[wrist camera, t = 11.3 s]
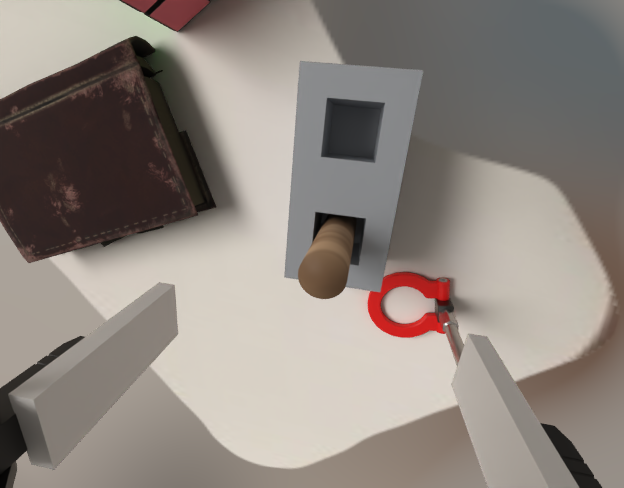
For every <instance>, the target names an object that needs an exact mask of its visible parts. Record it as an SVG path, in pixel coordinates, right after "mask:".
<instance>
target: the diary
mask: <svg viewBox="0 0 624 488" xmlns="http://www.w3.org/2000/svg"><path fill="white" fill-rule="evenodd" d="M154 52H155V49H154V48H153V47H152V46H151V45H150V44H149V43H148V42H147V41H146V40H144V39H142V38H140V37H137V36H134V37H130V38H128V39H126V40H123V41H121V42H119V43H117V44H115V45H113V46H111V47H109V48H107V49H105V50H103V51H101V52H100V53H98V54H96V55H94V56H92V57H90V58H88V59H86V60H84V61H82V62H80V63H78V64H76V65H73V66H71V67H69V68H66V69H64V70H62V71H59V72H57V73H55V74H53V75H50V76H48V77H46V78H43V79H41V80H39V81H36V82H34V83H32V84H29V85H27V86H25V87H23V88H21V89H19V90H18V91H16V92H14V93H12V94H10V95H8V96H6V97H4V98H2V99H0V222H1V223H2V225H3V227H4V228H5V230H6V231H7V233H8V235H9V236H10V238H11V239H12V241H13V242H14V243H15V245H16V247H17V248H18V250H19V251H20V253H21V255H22V256H23V257H24V258H25V259H26V261H27V262H28V263H31V262H35V261H38V260H42V259H45V258H49V257H52V256H56V255H59V254H63V253H66V252H70V251H73V250H77V249H80V248H84V247H87V246H91V245H94V244H98V243H101V244H102V245H103V246H104V247H105V246H107V245H109V244H110V243H112V242H114V241H116V240H118V239H121V238H123V237H125V236H127V235H130V234H134V233H144V232H148V231H152V230H156V229H160V228H164V227H163V225H165V224H169V223H172V222H176V221H179V220H183V219H186V218H190V217H193V216H197V215H198V213H197V212H200V211H204V210H208V209H211V208H215V207H216V205H215V203H214V200H213V198H212V195H211V193H210V190H209V188H208V185H207V183H206V180H205V177H204V175H203V172H202V170H201V167H200V165H199V162H198V160H197V157H196V155H195V152H194V150H193V147H192V145H191V142H190V140H189V137H188V135H187V132H186V130H185V131H183V132H180V133H179V132H178V129H177V127H176V124H175V122H174V119H173V117H172V114H171V111H170V109H169V106H168V104H167V101H166V99H165V96H164V94H163V91H162V89H161V86H160V84H159V83H158V82H156V81H155V80H153V79H152V78H151V77H153V76H155V75H156V74H157V73H159V72H162V71H163V70H161V71H158V72H156V73H155V71H154V70H153V69H152V67H151V66H150V65H149V64H148V63H147V62H146V61H145V59H144V58H143V57H145V56H147V55H150V54H152V53H154Z"/></svg>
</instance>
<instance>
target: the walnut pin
mask: <svg viewBox="0 0 624 488" xmlns="http://www.w3.org/2000/svg"><path fill="white" fill-rule="evenodd" d="M356 224H357V220H356V217H351V216H343V215H336V214H328V216H327V218H326V220H325V221H324V223H323V225H322V227H321V229H320V230H319V232H318V234H317V236H316V238H315V239H314V241H313V243H312V245H311V246H310V248H309V250H308V252H307V254H306V255H305V257H304V259H303V261H302V263H301V264H300V266H299V269H298V279H299V282H300V285H301V286H302V288H303V289H304V290H305V291H306V292H307V293H308V294H310V295H311V296H313V297H316V298H320V299H329V298H333V297H335V296H337V295H339V294H340V293H341V292H342V291H343V290H344V288H345V286H346V284H347V280H348V273H349V267H350V261H351V255H352V249H353V243H354V237H355V230H356Z"/></svg>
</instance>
